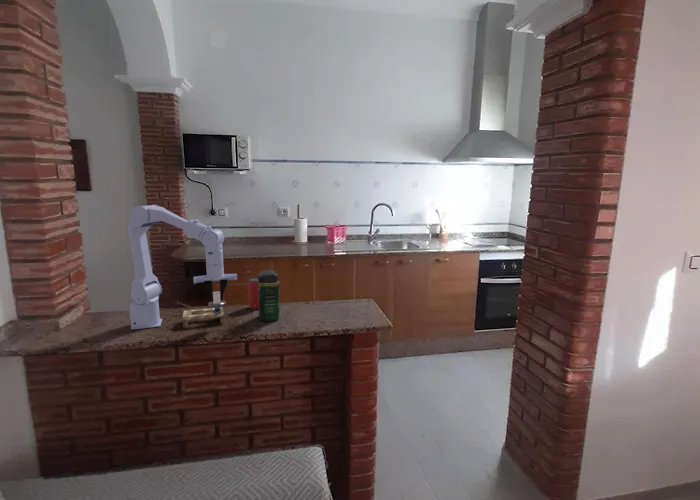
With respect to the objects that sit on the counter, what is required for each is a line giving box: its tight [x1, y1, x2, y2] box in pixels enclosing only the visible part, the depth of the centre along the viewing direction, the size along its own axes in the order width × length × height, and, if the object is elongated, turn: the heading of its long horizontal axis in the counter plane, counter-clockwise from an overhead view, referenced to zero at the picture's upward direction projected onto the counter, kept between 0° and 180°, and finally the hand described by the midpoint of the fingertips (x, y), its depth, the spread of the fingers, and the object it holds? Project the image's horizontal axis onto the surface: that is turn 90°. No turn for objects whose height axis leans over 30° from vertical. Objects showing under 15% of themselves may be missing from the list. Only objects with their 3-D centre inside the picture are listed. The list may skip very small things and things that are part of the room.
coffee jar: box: [257, 269, 280, 322], centre depth 151 cm, size 10×8×19 cm
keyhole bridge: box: [182, 306, 225, 329], centre depth 147 cm, size 14×8×4 cm, turn 110°
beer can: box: [247, 277, 259, 310], centre depth 164 cm, size 7×7×12 cm
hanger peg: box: [207, 290, 227, 314], centre depth 140 cm, size 6×6×7 cm
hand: (216, 300), depth 139 cm, fingers closed on hanger peg, 2 cm apart
